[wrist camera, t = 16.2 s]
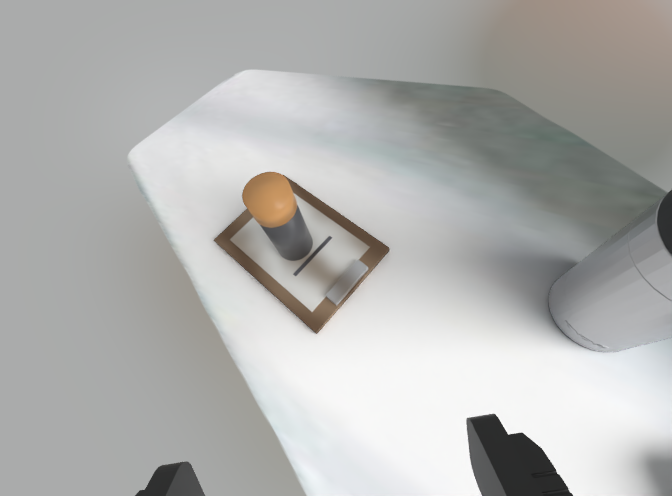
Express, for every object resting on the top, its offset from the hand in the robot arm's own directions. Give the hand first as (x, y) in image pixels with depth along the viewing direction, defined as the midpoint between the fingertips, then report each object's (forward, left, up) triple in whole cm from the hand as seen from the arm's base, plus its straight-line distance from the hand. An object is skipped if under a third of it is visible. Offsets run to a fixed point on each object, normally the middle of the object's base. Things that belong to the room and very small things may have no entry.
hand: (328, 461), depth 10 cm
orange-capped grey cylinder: (-10, -21, -28) cm, 36 cm away
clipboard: (-10, -21, -29) cm, 37 cm away
